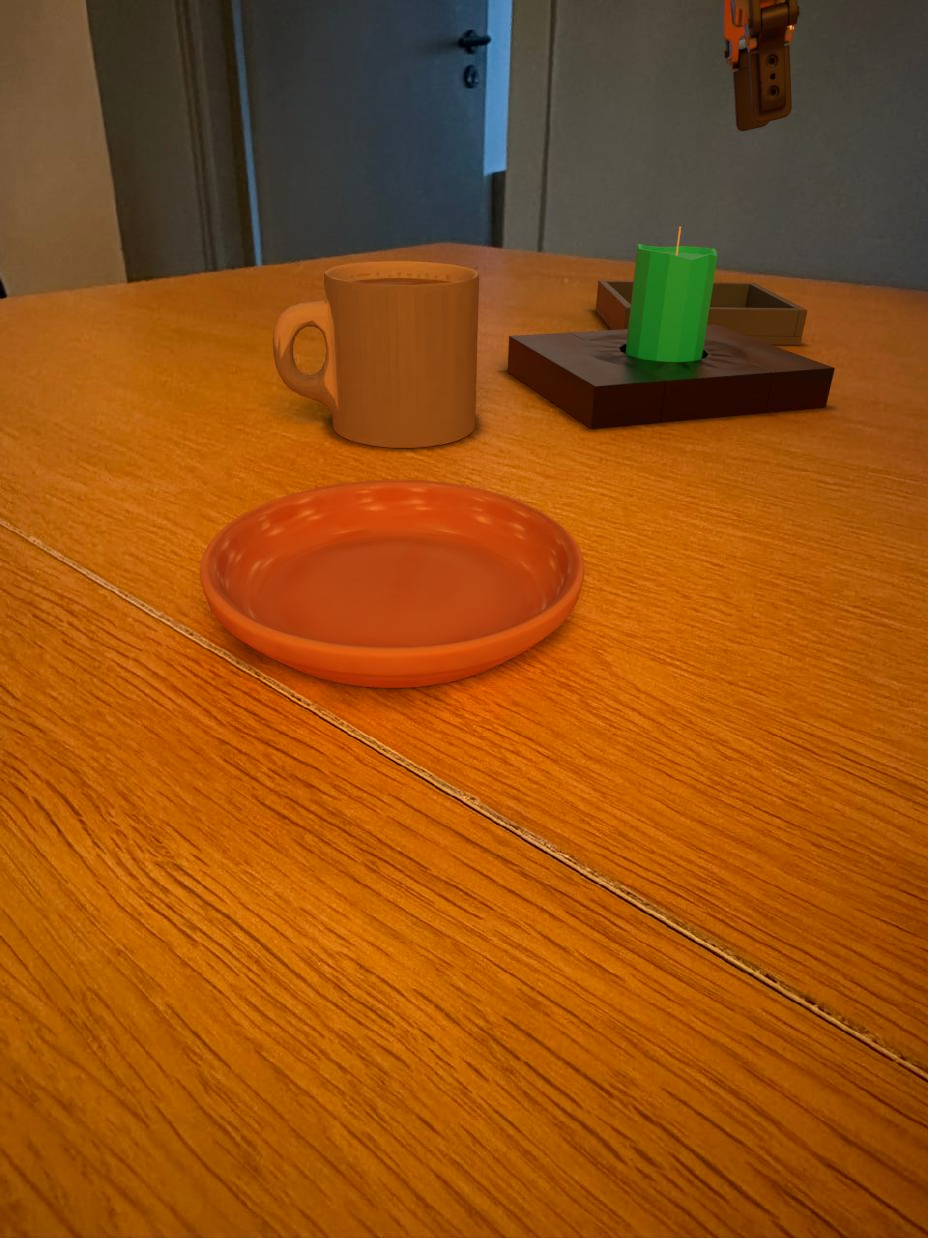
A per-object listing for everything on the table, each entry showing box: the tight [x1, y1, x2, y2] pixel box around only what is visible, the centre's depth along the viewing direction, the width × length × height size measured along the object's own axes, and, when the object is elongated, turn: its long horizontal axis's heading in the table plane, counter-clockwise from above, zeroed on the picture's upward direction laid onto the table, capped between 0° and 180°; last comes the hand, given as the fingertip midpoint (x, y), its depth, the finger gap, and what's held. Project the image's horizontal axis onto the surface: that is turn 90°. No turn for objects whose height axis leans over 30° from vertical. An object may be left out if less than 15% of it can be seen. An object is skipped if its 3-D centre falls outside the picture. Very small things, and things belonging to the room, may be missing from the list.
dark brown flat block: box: [506, 324, 836, 430], centre depth 69 cm, size 20×16×3 cm
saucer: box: [199, 478, 586, 689], centre depth 37 cm, size 16×16×3 cm
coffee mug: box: [272, 260, 480, 449], centre depth 58 cm, size 13×10×10 cm
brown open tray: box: [595, 279, 808, 346], centre depth 90 cm, size 18×16×3 cm
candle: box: [625, 225, 719, 362], centre depth 67 cm, size 6×6×12 cm
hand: (762, 124), depth 57 cm, fingers open, 8 cm apart
